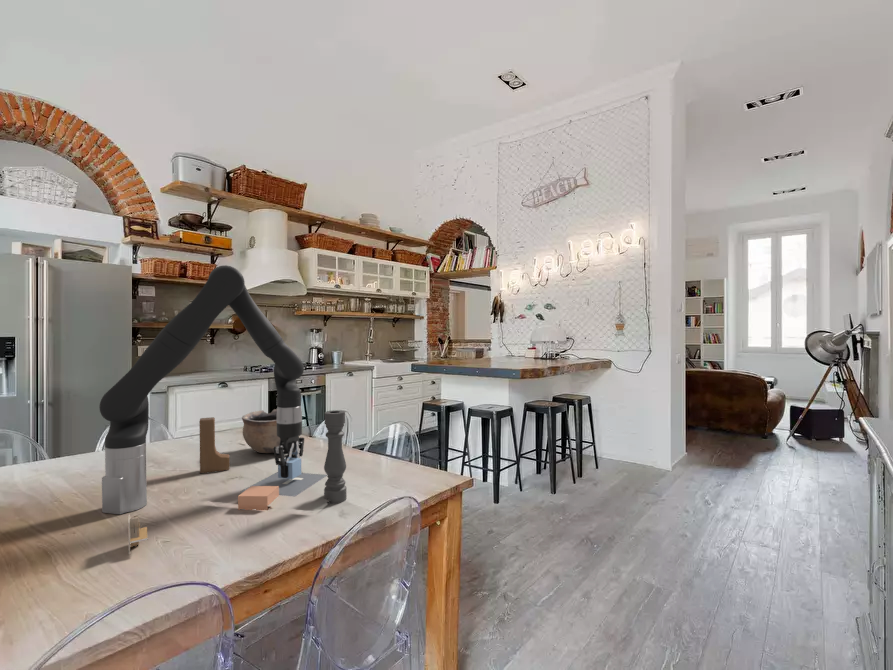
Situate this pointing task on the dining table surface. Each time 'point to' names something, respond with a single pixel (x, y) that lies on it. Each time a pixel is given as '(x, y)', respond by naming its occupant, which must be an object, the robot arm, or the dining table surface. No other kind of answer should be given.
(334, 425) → the candle holder
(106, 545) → the dining table surface
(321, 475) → the letter board
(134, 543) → the architectural model
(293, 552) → the dining table surface
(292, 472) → the blue cube
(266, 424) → the ceramic bowl
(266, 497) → the terracotta block
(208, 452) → the wooden block
